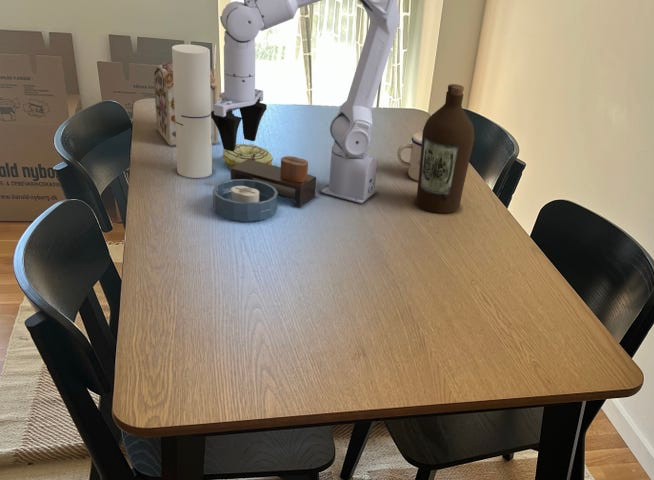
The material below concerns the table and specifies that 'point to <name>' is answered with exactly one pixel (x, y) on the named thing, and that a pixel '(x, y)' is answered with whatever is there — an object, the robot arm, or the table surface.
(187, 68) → the cylindrical container
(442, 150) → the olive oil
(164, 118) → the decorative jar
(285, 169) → the brown rounded block
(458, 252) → the table surface
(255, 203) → the bowl
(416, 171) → the teacup with lid
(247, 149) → the decorated donut
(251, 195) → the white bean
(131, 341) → the table surface
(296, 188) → the rack
